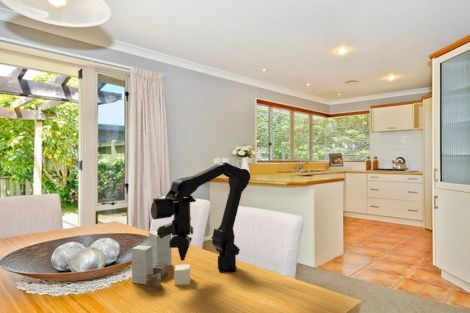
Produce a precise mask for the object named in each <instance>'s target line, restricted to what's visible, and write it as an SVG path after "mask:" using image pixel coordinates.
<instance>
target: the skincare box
mask: <svg viewBox="0 0 470 313" xmlns="http://www.w3.org/2000/svg"><path fill="white" fill-rule="evenodd" d="M150 274H153V247H152V246H149V245H142V244H138V245H136V246H134V247H132V248H131V283H133V284H139V285H140V284H141V285H146V278H147V275H150Z"/></svg>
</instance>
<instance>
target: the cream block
mask: <svg viewBox="0 0 470 313" xmlns="http://www.w3.org/2000/svg"><path fill="white" fill-rule="evenodd" d="M173 280H174V282H173V285H174V286H176V285H180V286H181V285H190V282H191V264H176V265H175V267H174V270H173Z"/></svg>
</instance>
